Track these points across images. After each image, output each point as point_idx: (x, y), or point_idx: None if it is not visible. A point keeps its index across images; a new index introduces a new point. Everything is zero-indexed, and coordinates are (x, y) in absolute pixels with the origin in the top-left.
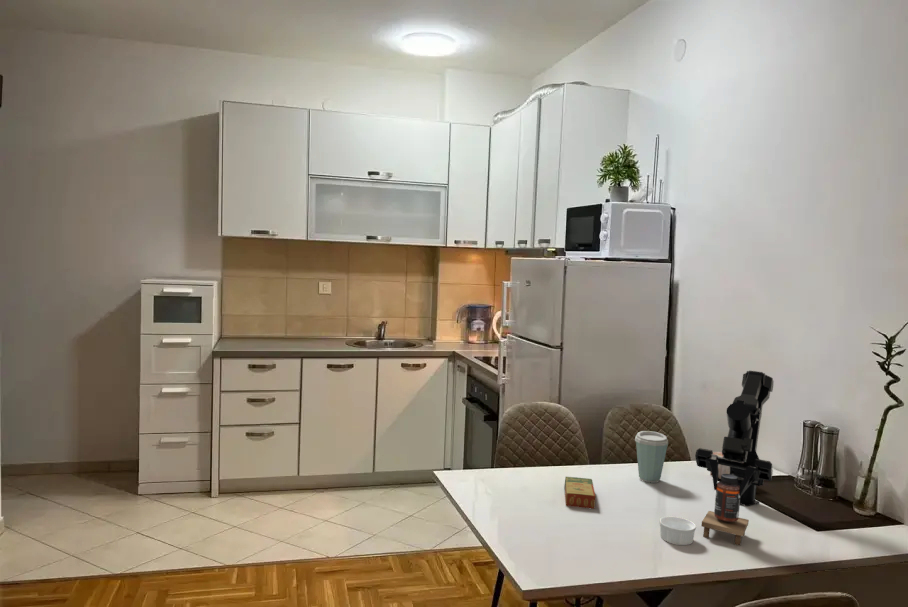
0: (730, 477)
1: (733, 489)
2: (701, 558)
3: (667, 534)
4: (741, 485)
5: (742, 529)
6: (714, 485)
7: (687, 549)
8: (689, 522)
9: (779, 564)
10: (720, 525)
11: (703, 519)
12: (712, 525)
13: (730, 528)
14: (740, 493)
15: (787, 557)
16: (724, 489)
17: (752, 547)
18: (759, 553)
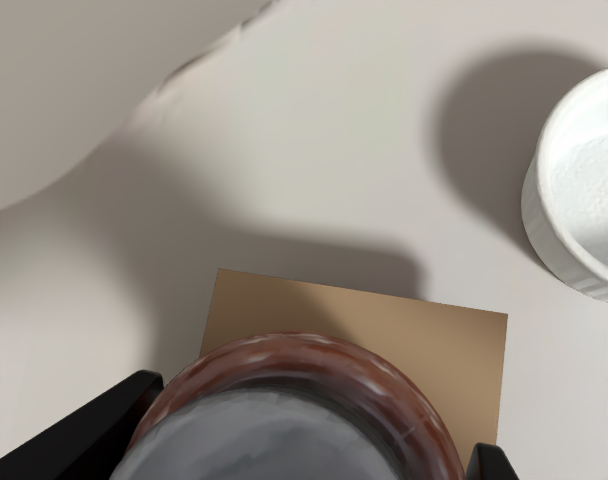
0: (234, 438)
1: (225, 344)
2: (451, 22)
3: None
4: (83, 449)
5: (220, 308)
6: (505, 471)
7: (533, 93)
8: (594, 260)
9: (87, 155)
10: (369, 307)
11: (500, 375)
12: (425, 302)
13: (300, 283)
14: (146, 373)
15: (28, 269)
16: (350, 342)
17: (187, 318)
18: (161, 247)
